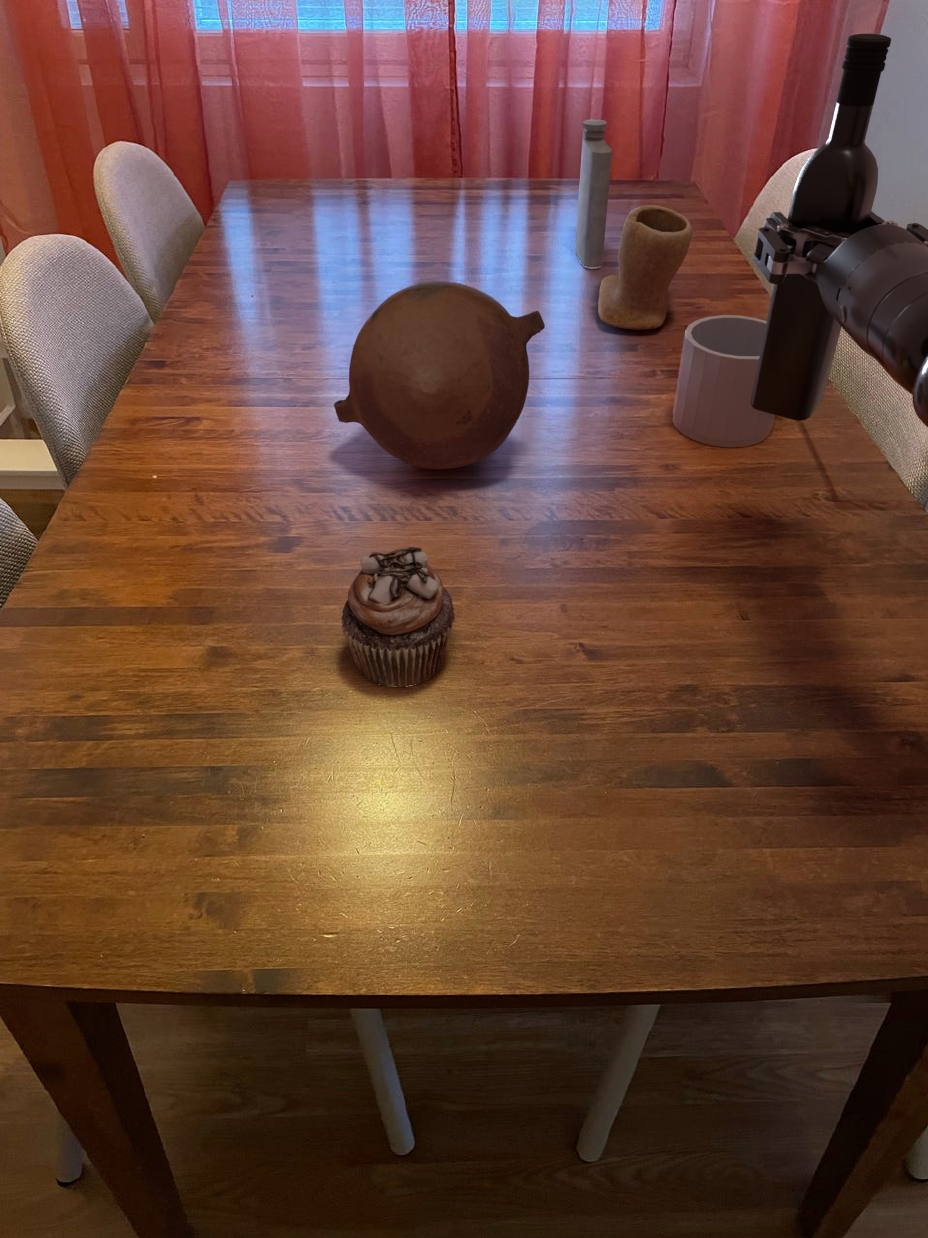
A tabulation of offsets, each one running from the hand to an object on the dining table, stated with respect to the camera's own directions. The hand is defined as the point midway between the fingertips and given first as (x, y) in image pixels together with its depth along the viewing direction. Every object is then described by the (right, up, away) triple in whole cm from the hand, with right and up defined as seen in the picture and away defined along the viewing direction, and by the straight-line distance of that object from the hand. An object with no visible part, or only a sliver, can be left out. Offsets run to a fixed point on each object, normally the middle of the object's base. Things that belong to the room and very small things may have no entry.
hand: (816, 222), depth 81 cm
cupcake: (-36, -37, +2) cm, 52 cm away
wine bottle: (0, -14, +9) cm, 16 cm away
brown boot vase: (-5, +11, +58) cm, 60 cm away
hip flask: (-9, +28, +78) cm, 84 cm away
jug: (-32, -11, +33) cm, 47 cm away
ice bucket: (+1, -10, +34) cm, 35 cm away
